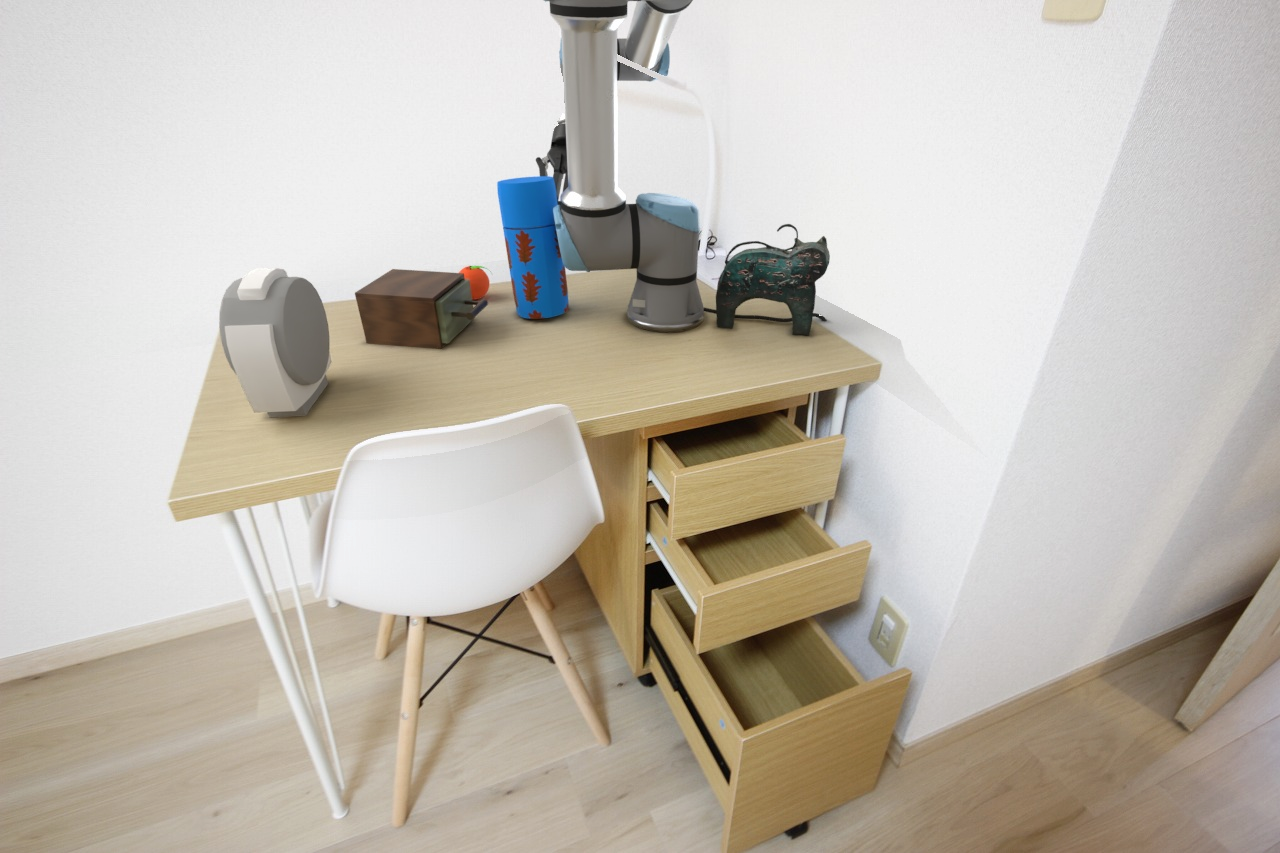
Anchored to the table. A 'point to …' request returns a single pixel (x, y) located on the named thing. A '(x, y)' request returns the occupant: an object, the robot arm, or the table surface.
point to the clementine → (476, 280)
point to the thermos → (533, 246)
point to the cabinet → (404, 307)
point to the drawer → (457, 310)
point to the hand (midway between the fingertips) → (554, 232)
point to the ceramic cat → (773, 280)
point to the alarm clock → (276, 341)
